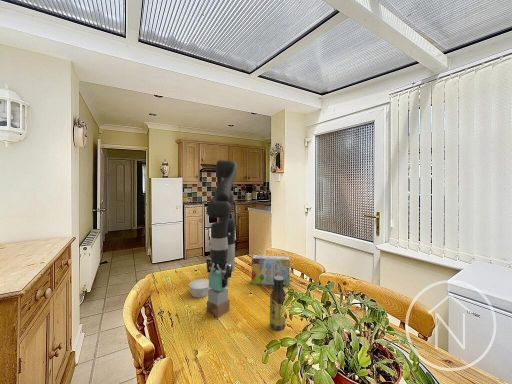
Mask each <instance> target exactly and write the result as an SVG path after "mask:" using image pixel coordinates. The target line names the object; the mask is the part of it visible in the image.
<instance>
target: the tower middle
mask: <svg viewBox="0 0 512 384" xmlns="http://www.w3.org/2000/svg"><path fill="white" fill-rule="evenodd" d="M228 295H229V290H228V288H227V287H226V288H224V289H222V290H220V291H217V290H214V289H212V288H211V289H209V290H208V295H207V299H208V300H207V301H209V302H211V303H213V304H215V305H217V306H218V305H220V304H222V303H224V302H225V301H227V300H228V299H229V296H228Z"/></svg>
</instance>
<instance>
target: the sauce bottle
mask: <svg viewBox="0 0 512 384" xmlns="http://www.w3.org/2000/svg"><path fill="white" fill-rule="evenodd" d="M273 281H274V285H273V290H272V291H271V293H270V298H269V299H270V300H269V326H270V327H271V329H274V330H277V331H281V330H283V329H285V327H286V321H287V320H286V318H287V317H286V318H284V317H280V310H281V306H282V302H283V299H284V297H285V296H286V297H287V295H286V292H285V290H284V286H283V282H284V278H283V277H282V276H275V277H274V279H273Z"/></svg>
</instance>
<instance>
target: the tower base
mask: <svg viewBox="0 0 512 384" xmlns="http://www.w3.org/2000/svg"><path fill="white" fill-rule="evenodd" d="M230 304H231V303H230V299H229V298H228V300H227V301H225V302H224V303H222V304H220V305H218V306H217V305H215V304H213V303H211V302H209V301H208V300H207V301H206V313H207V314H210V315H212V316H213V317H215V318H217V319H219V318H220V317H222V316H223V315H225V314H227V313H228V312H230V307H231V306H230Z"/></svg>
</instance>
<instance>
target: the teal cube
mask: <svg viewBox="0 0 512 384" xmlns="http://www.w3.org/2000/svg"><path fill="white" fill-rule="evenodd" d="M222 272H223V271H222ZM224 276H225V274H224ZM208 280H209V288H212V289H214V290H217V291H220V290H222V289H224V288H226V289H227V287H229V278H228V279H227V286H226V287H224V288H223V287H222V276H221V274H220V273H219V271H218V270H217V271H214V272H213V273H208Z"/></svg>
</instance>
